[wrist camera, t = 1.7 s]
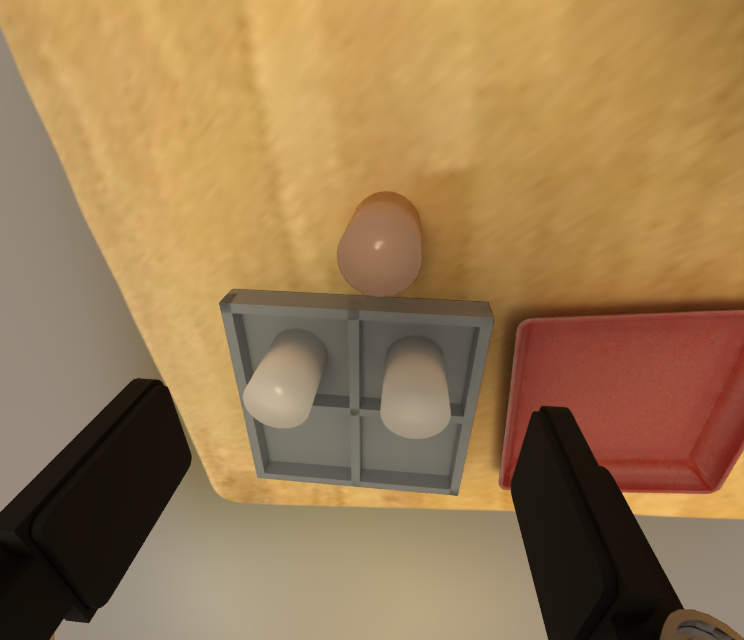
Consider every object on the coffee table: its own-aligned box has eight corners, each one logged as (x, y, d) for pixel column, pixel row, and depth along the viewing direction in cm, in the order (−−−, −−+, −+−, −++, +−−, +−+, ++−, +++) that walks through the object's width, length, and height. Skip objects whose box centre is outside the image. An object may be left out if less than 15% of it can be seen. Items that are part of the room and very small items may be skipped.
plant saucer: (695, 464, 34) (720, 497, 31) (491, 462, 37) (498, 493, 34) (783, 284, 25) (830, 307, 22) (506, 296, 28) (517, 319, 25)
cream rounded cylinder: (386, 333, 29) (381, 384, 24) (447, 337, 28) (455, 389, 23) (384, 380, 31) (379, 436, 26) (440, 384, 31) (446, 441, 26)
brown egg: (351, 190, 24) (335, 214, 19) (422, 192, 24) (425, 217, 19) (352, 257, 27) (338, 294, 22) (417, 260, 26) (418, 298, 21)
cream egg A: (268, 326, 29) (237, 374, 24) (325, 330, 29) (307, 379, 24) (275, 373, 32) (248, 426, 27) (328, 376, 31) (312, 431, 26)
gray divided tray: (232, 288, 29) (219, 302, 27) (488, 302, 27) (494, 317, 26) (265, 458, 39) (257, 477, 37) (455, 474, 37) (457, 495, 35)
